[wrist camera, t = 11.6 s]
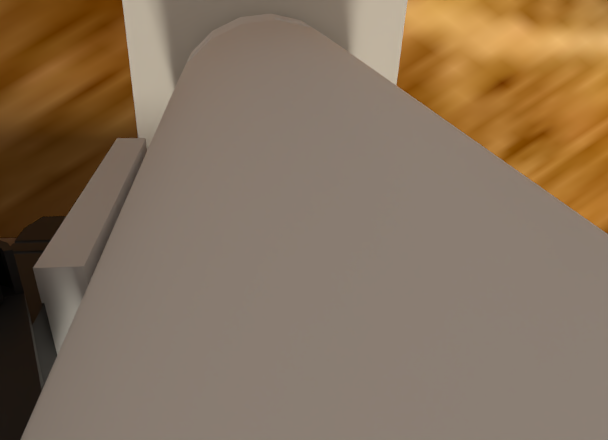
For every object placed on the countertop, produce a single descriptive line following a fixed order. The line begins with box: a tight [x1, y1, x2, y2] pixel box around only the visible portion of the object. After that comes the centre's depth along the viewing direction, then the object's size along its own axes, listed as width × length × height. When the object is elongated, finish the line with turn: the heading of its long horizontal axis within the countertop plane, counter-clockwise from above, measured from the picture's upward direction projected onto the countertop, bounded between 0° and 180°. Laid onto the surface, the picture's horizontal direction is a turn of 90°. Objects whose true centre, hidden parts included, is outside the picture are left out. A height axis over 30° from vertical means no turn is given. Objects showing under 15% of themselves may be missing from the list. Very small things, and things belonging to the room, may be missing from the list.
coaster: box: [122, 0, 407, 150], centre depth 23 cm, size 12×12×1 cm
